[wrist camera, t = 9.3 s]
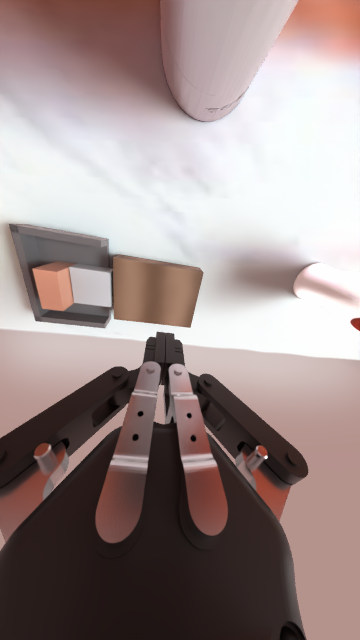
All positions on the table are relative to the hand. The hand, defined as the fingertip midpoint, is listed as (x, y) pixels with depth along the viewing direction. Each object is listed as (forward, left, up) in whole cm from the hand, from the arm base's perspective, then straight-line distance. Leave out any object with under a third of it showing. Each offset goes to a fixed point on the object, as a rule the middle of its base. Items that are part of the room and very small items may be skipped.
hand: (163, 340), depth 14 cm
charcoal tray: (-7, -11, -14) cm, 19 cm away
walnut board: (0, -1, -14) cm, 14 cm away
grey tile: (-5, -9, -13) cm, 17 cm away
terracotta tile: (-6, -11, -11) cm, 17 cm away
